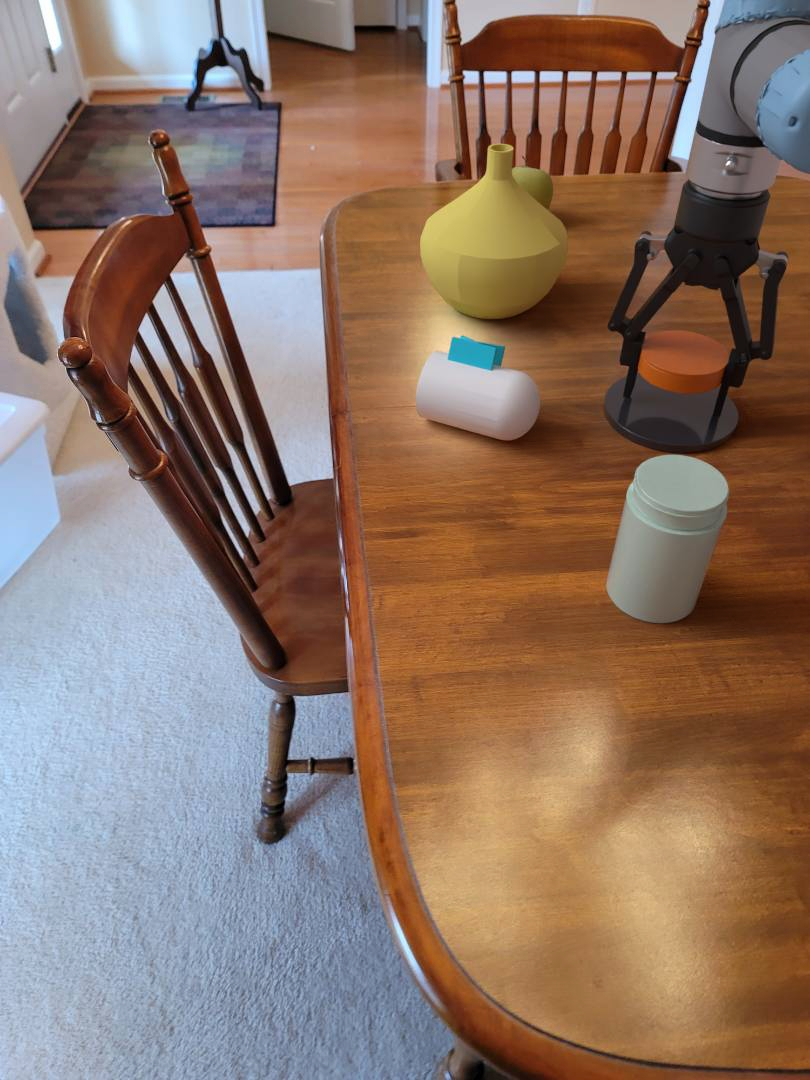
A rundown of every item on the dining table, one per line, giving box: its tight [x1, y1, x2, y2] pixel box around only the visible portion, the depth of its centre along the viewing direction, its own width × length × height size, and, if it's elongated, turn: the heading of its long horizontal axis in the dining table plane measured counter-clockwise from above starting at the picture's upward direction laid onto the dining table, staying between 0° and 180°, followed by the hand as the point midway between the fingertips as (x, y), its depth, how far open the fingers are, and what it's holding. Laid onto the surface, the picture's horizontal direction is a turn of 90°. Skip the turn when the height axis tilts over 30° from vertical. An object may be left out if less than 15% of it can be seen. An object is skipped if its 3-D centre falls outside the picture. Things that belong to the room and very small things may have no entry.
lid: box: [637, 329, 730, 394], centre depth 86 cm, size 9×9×2 cm
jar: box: [605, 454, 730, 624], centre depth 67 cm, size 8×8×12 cm
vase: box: [419, 143, 569, 320], centre depth 102 cm, size 18×18×19 cm
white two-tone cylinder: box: [415, 334, 541, 441], centre depth 88 cm, size 12×9×12 cm
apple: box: [512, 155, 554, 211], centre depth 124 cm, size 8×8×10 cm
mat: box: [603, 372, 739, 454], centre depth 90 cm, size 14×14×1 cm
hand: (672, 400), depth 89 cm, fingers closed on lid, 9 cm apart
